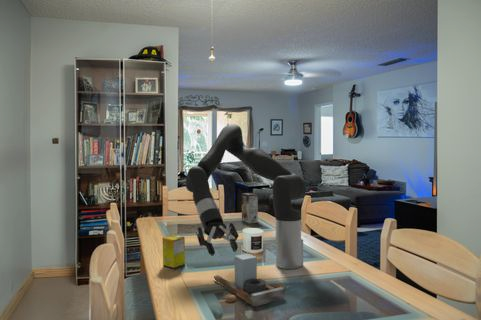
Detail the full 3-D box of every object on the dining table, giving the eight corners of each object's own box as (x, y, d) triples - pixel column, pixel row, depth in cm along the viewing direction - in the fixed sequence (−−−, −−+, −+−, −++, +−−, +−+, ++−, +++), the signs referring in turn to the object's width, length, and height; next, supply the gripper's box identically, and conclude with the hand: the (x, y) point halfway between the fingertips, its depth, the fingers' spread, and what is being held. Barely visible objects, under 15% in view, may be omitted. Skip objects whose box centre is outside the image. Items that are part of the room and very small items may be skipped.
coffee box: (241, 220, 229) (240, 193, 229) (251, 219, 232) (250, 192, 231) (248, 223, 221) (247, 195, 220) (258, 222, 224) (258, 194, 223)
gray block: (248, 284, 126) (248, 253, 125) (256, 289, 122) (256, 257, 121) (234, 287, 123) (234, 255, 123) (243, 292, 119) (242, 259, 119)
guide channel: (253, 272, 137) (253, 263, 137) (297, 295, 116) (297, 285, 116) (201, 283, 127) (200, 274, 127) (239, 310, 106) (239, 299, 106)
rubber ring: (258, 288, 122) (257, 277, 122) (269, 295, 117) (268, 283, 116) (241, 292, 119) (241, 280, 119) (251, 299, 114) (251, 287, 113)
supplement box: (174, 262, 149) (174, 234, 149) (185, 265, 146) (185, 236, 145) (162, 266, 145) (161, 237, 144) (173, 270, 141) (172, 239, 141)
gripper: (223, 217, 148) (239, 255, 138) (188, 222, 141) (202, 261, 131) (229, 205, 143) (246, 243, 133) (193, 209, 136) (208, 249, 126)
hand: (224, 252), depth 132 cm, fingers open, 8 cm apart
